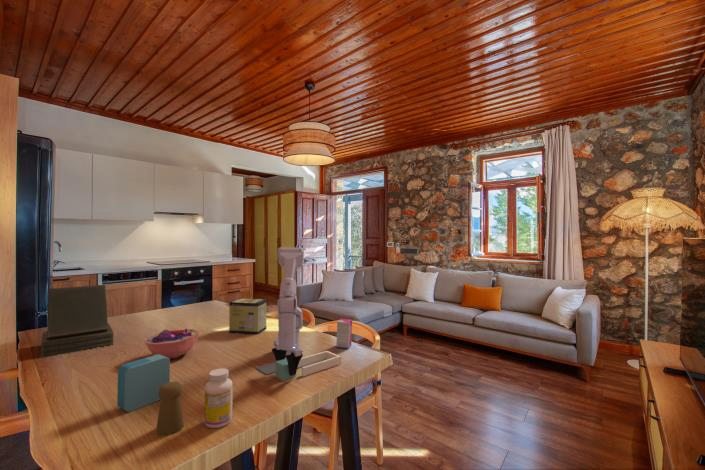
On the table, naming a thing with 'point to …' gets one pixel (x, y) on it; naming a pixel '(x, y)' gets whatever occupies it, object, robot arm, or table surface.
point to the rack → (330, 362)
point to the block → (282, 370)
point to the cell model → (172, 342)
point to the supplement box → (344, 333)
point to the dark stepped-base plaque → (76, 320)
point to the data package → (142, 381)
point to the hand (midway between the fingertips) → (286, 371)
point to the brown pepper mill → (170, 409)
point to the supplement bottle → (218, 399)
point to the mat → (267, 368)
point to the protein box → (247, 316)
